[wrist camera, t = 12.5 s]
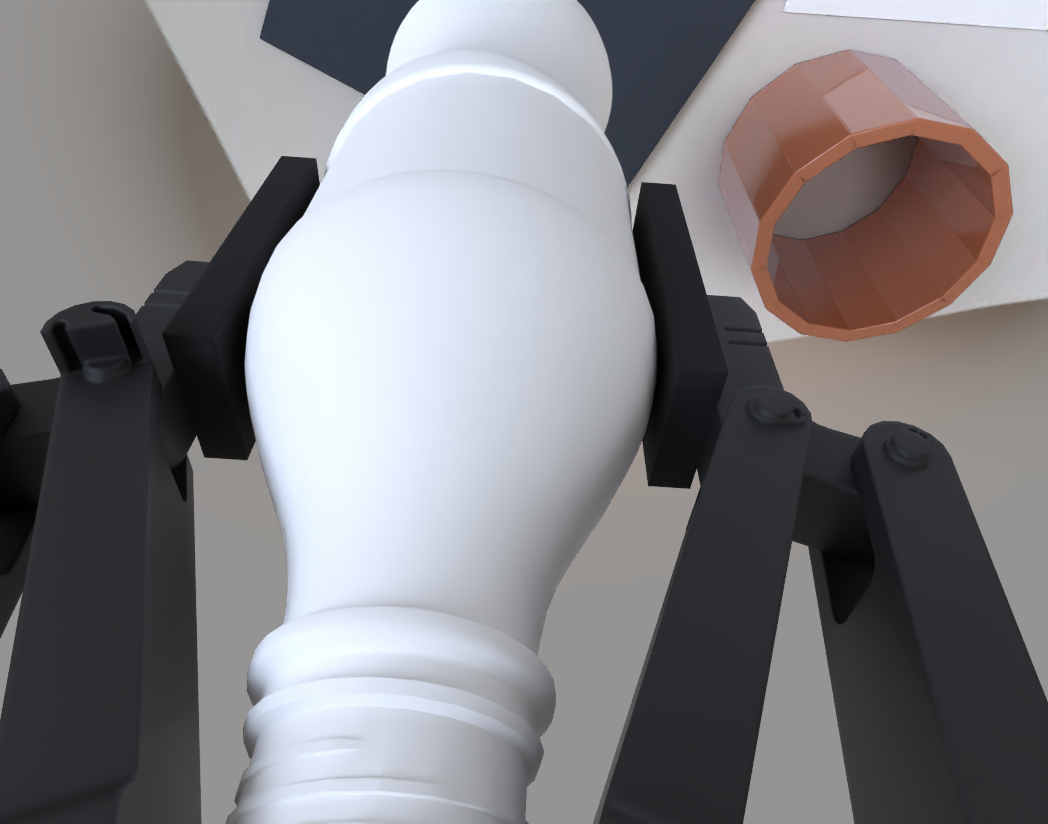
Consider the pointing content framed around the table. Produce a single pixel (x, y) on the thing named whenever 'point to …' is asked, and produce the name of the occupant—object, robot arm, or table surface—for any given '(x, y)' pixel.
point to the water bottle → (441, 419)
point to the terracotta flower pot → (883, 236)
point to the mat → (615, 8)
